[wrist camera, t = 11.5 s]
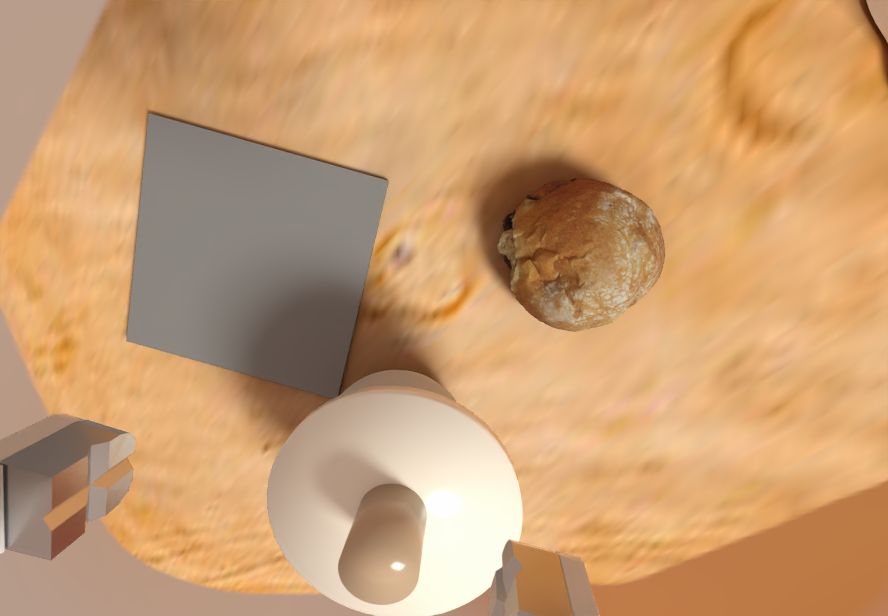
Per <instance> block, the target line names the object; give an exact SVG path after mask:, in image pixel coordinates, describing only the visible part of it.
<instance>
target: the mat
mask: <svg viewBox="0 0 888 616" xmlns="http://www.w3.org/2000/svg"><path fill="white" fill-rule="evenodd" d="M388 182H389V181H388V180H384V179H380V178H377V177H373V176H370V175H366V174H363V173H359V172H356V171H352V170H349V169H345V168H341V167H338V166H334V165H331V164H327V163H324V162H320V161H317V160H313V159H310V158H306V157H303V156H299V155H295V154H292V153H288V152H285V151H281V150H278V149H274V148H271V147H267V146H264V145H260V144H257V143H253V142H249V141H246V140H242V139H239V138H235V137H232V136H228V135H225V134H221V133H218V132H214V131H210V130H207V129H203V128H200V127H196V126H193V125H189V124H186V123H182V122H179V121H175V120H172V119H168V118H164V117H161V116H157V115H154V114H150V113H149V115H148V126H147V136H146V146H145V156H144V166H143V177H142V187H141V197H140V207H139V217H138V228H137V238H136V248H135V258H134V268H133V279H132V289H131V299H130V309H129V319H128V330H127V340H126V341H128V342H132V343H135V344H139V345H142V346H146V347H150V348H153V349H157V350H160V351H164V352H167V353H171V354H175V355H178V356H182V357H185V358H189V359H192V360H196V361H200V362H203V363H207V364H210V365H214V366H217V367H221V368H225V369H228V370H232V371H235V372H239V373H242V374H246V375H250V376H253V377H257V378H260V379H264V380H267V381H271V382H275V383H278V384H282V385H285V386H289V387H292V388H296V389H300V390H303V391H307V392H310V393H314V394H317V395H321V396H325V397H328V398H332V399H333V398H335V397H337V396H339V393H340V388H341V384H342V380H343V375H344V371H345V367H346V362H347V358H348V354H349V350H350V345H351V341H352V337H353V332H354V328H355V324H356V320H357V315H358V311H359V307H360V302H361V298H362V294H363V289H364V285H365V281H366V277H367V272H368V268H369V264H370V259H371V255H372V251H373V246H374V242H375V238H376V234H377V229H378V225H379V221H380V216H381V212H382V208H383V203H384V199H385V195H386V191H387V186H388Z"/></svg>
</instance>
